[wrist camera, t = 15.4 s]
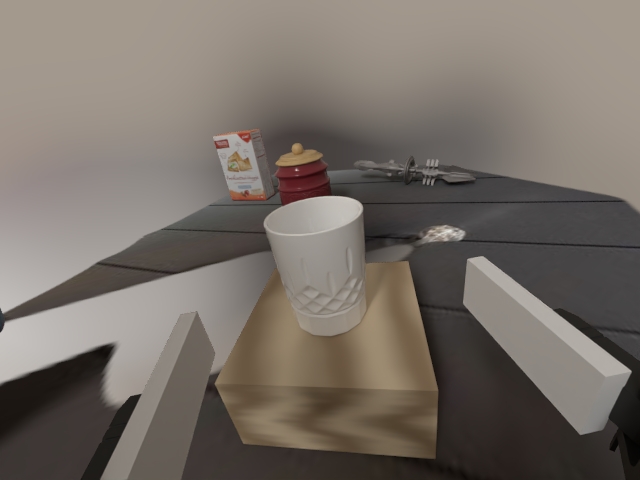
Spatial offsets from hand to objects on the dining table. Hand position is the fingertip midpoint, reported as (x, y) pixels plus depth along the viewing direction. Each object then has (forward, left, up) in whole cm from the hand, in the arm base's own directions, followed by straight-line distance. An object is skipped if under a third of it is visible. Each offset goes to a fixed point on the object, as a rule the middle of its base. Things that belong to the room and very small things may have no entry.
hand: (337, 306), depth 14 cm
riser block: (-3, +10, -17) cm, 20 cm away
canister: (-15, +56, -17) cm, 60 cm away
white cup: (-3, +10, -9) cm, 14 cm away
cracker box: (-38, +76, -17) cm, 86 cm away
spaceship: (+12, +74, -17) cm, 76 cm away
